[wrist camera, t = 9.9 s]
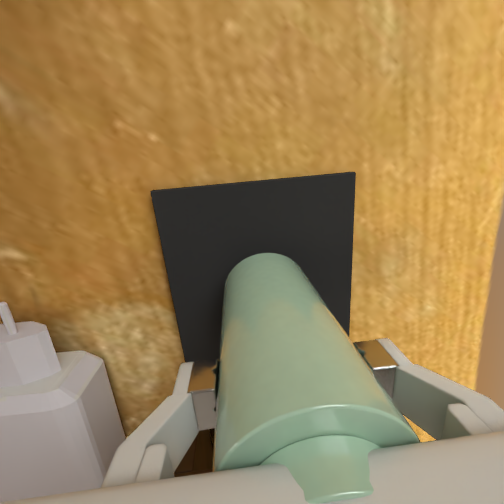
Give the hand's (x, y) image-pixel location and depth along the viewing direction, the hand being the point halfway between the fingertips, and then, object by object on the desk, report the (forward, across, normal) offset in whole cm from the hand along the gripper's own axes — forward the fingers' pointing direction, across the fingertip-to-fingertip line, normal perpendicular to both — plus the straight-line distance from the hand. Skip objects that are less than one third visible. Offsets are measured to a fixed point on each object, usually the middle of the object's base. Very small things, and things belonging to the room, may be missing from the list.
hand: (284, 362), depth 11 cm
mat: (+8, 0, 0) cm, 8 cm away
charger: (+9, +17, +6) cm, 20 cm away
